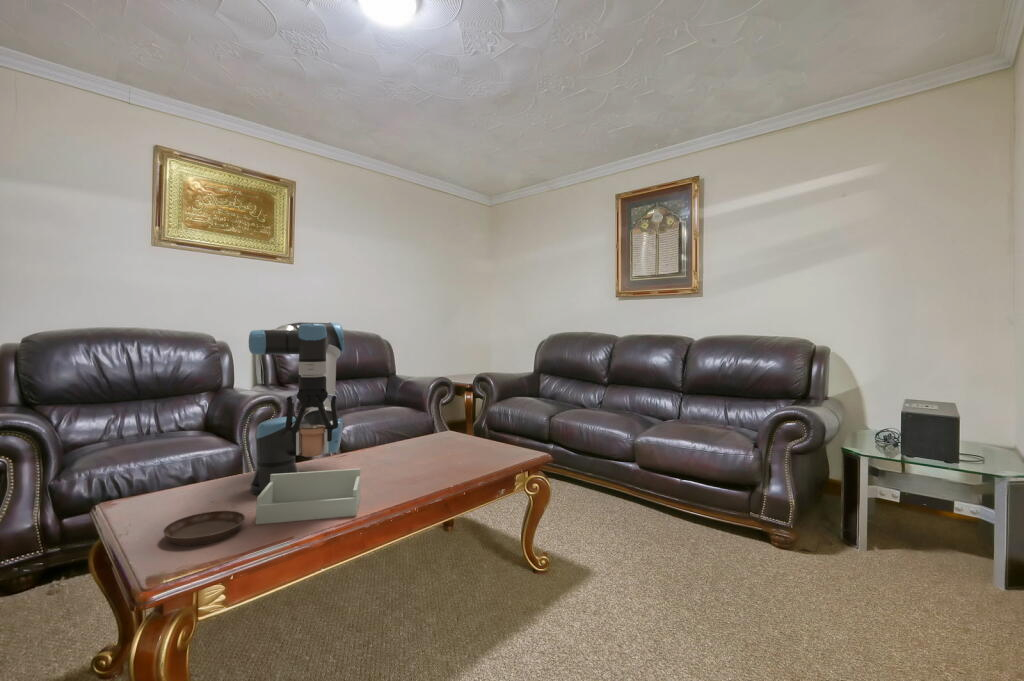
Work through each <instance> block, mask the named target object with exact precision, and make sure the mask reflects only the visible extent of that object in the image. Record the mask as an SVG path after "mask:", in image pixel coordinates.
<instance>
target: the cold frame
mask: <svg viewBox="0 0 1024 681" xmlns="http://www.w3.org/2000/svg"><path fill="white" fill-rule="evenodd" d="M360 499H361V468H349V469H348V468H347V469H333V470H331V469H330V470H316V471H315V470H313V471H303V472H300V471H298V472H297V473H282V474H271V475H270V483H269V484H268V485H267V486H266V487H265V489H264V490H263V491H262V492H261V493H260V495H257V497H256V506H255V525H265V524H275V523H276V524H277V523H286V522H288V523H289V522H298V521H308V520H309V521H310V520H311V521H312V520H322V519H323V520H324V519H335V518H344V517H356V516H357V515H358V509H359V504H360Z"/></svg>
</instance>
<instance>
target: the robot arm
mask: <svg viewBox="0 0 1024 681" xmlns="http://www.w3.org/2000/svg"><path fill="white" fill-rule="evenodd" d="M344 337H345V336H344V329H343V326H342V324H340V323H338V322H302V321H301V322H300V321H299V322H294V323H289V324H287V323H286V324H283V325H280V326H278V327H277V328H275V329H257V330H256V329H254V330H251V331H250V332H249V335H248V350H249V353H250V354H252V355H260V356H264V355H298V375H299V377H298V392H297V394H295V395H289V396H287V398H286V402H287V404H288V405H287V410H286V411H287V413H286V416H283V417H282V416H281V417H276V418H275V417H274V418H270V419H268V420H264V421H262V422H260V423H259V424H258V425H257V427H256V436H255V439H256V441H255V442H256V444H255V445H256V451H255V452H256V468H255V471H254V474H253V476H252V479H251V482H250V488H249V489H250V493H251V494H252V495H257V496H259V495H260V493H261V492H262V491H263V490H264V489H265V487H266V486H267V485H268V484H269V483H270V475H271V474H282V473H297V472H299V469H298V467H297V465H296V457H297V456H302V455H301V434H300V427H302V426H307V425H324V426H325V432H324V442H323V454H322V455H326V454H333V453H336V452H338V451H339V450H340V446H341V441H342V437H343V430H344V429H343V428H344V420H343V419H342V418H340V415H339V413H338V408H337V401H338V395H337V394H336V381H337V380H336V378H337V360H338V358H340V356H341V355H342V354H341V353H344V352H345V351H346V350H345V346H346V345H345V339H344ZM297 400H298V401H299V403H301V406H300V407H299V408H300V409H299V412H298V414H297V417H295V416H294V410H295V403H296V402H297ZM307 409H308V411H307ZM306 411H307V412H306Z"/></svg>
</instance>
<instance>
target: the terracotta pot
mask: <svg viewBox="0 0 1024 681" xmlns="http://www.w3.org/2000/svg"><path fill="white" fill-rule="evenodd" d="M324 432H325V426H324V425H307V426H302V427H300V434H301V455H300V456H301V457H306V458H311V457H318V456H322V455H324V454H323V442H324Z"/></svg>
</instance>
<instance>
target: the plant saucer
mask: <svg viewBox="0 0 1024 681" xmlns="http://www.w3.org/2000/svg"><path fill="white" fill-rule="evenodd" d="M245 519H246V516H245V514H243V513H242V512H239V511H234V510H216V511H215V510H214V511H213V510H212V511H207V512H202V513H195V514H193V515H189V516H185V517H182V518H179V519H177V520H175V521H173V522H171V523H169V524H168V525H166V526H165V527H164V528H163V530H162V533H163V536H165V538H166V539H167V540H169V541H170V542H171V543H173V544H175V545H179V546H198V545H199V544H200V545H205V543H206V544H210V543H209V542H211V543H213V541H214V542H218V541H221V540H223V539H225V538H227V536H228V537H230V536H231V535H232V534H234V533H235V532H236V531H237V530H238V529H239V528H240V527H241V526H242V525H243V523H244V522H245ZM229 535H230V536H229ZM217 540H218V541H217Z"/></svg>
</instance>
